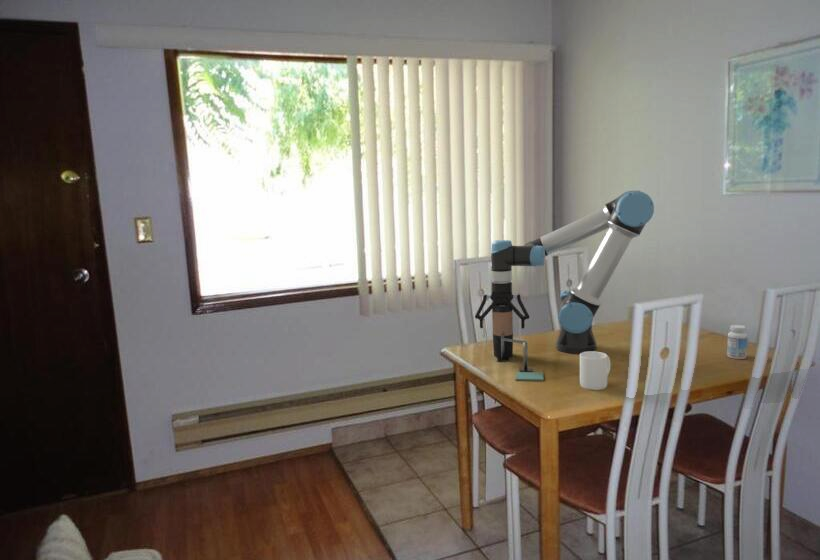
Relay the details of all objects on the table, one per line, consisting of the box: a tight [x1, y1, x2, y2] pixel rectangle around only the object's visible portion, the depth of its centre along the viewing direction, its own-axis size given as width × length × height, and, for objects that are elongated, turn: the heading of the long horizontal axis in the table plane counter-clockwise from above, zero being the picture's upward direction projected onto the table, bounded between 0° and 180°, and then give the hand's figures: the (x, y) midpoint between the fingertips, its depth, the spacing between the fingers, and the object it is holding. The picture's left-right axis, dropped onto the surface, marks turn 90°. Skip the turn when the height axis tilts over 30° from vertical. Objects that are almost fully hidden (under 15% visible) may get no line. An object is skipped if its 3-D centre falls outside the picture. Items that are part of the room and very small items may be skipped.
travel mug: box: [491, 305, 514, 359], centre depth 211 cm, size 8×8×20 cm
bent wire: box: [496, 333, 533, 372], centre depth 199 cm, size 12×16×10 cm
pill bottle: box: [726, 324, 749, 360], centre depth 197 cm, size 6×6×11 cm
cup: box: [579, 350, 611, 391], centre depth 176 cm, size 8×12×10 cm
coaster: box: [515, 371, 545, 382], centre depth 187 cm, size 9×7×1 cm
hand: (502, 336), depth 212 cm, fingers open, 13 cm apart
